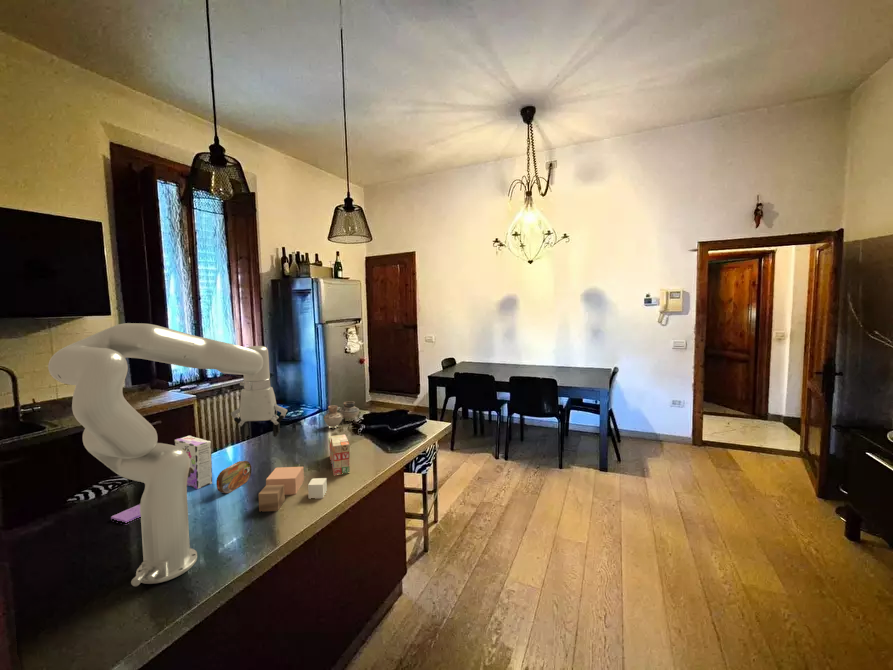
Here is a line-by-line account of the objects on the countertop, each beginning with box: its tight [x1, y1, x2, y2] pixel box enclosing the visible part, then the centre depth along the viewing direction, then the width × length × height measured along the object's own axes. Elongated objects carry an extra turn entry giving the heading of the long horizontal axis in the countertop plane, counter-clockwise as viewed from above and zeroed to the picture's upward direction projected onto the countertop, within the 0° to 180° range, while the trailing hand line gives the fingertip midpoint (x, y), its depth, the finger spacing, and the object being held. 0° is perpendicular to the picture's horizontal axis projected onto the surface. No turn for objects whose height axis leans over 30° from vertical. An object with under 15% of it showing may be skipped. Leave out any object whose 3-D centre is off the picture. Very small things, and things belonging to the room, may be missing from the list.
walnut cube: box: [258, 484, 286, 512], centre depth 128 cm, size 6×6×6 cm
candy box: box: [174, 435, 213, 490], centre depth 145 cm, size 14×6×16 cm, turn 62°
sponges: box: [110, 503, 141, 523], centre depth 124 cm, size 7×13×2 cm, turn 160°
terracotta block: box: [265, 466, 305, 496], centre depth 141 cm, size 10×10×6 cm
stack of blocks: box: [328, 434, 350, 476], centre depth 161 cm, size 21×6×12 cm, turn 21°
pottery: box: [323, 400, 360, 426], centre depth 218 cm, size 11×25×12 cm, turn 158°
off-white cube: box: [307, 477, 328, 500], centre depth 135 cm, size 5×5×5 cm
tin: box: [215, 460, 252, 494], centre depth 141 cm, size 15×3×8 cm, turn 168°
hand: (260, 435), depth 126 cm, fingers open, 9 cm apart
